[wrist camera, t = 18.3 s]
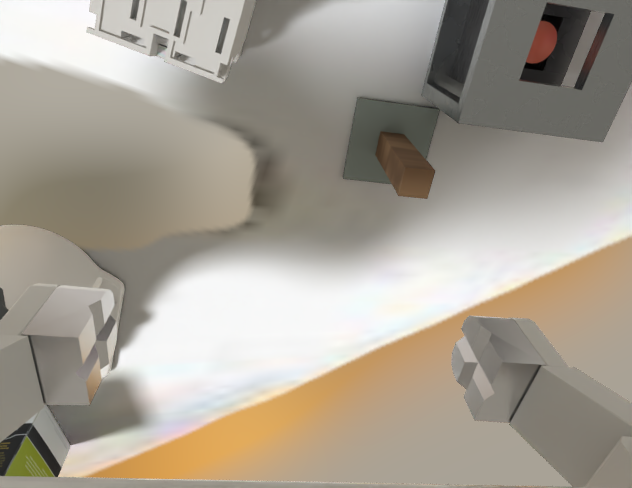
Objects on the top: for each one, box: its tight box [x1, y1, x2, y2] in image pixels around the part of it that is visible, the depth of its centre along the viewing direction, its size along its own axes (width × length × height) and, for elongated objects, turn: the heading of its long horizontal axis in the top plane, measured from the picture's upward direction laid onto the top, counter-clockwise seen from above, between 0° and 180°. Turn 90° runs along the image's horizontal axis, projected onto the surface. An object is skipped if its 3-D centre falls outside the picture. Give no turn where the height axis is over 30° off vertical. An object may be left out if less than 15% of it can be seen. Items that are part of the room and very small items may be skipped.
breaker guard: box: [422, 0, 632, 142], centre depth 35 cm, size 12×12×10 cm
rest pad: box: [343, 98, 440, 184], centre depth 43 cm, size 8×8×1 cm
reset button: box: [526, 21, 557, 63], centre depth 36 cm, size 3×3×5 cm
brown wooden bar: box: [375, 131, 435, 199], centre depth 39 cm, size 2×2×10 cm
